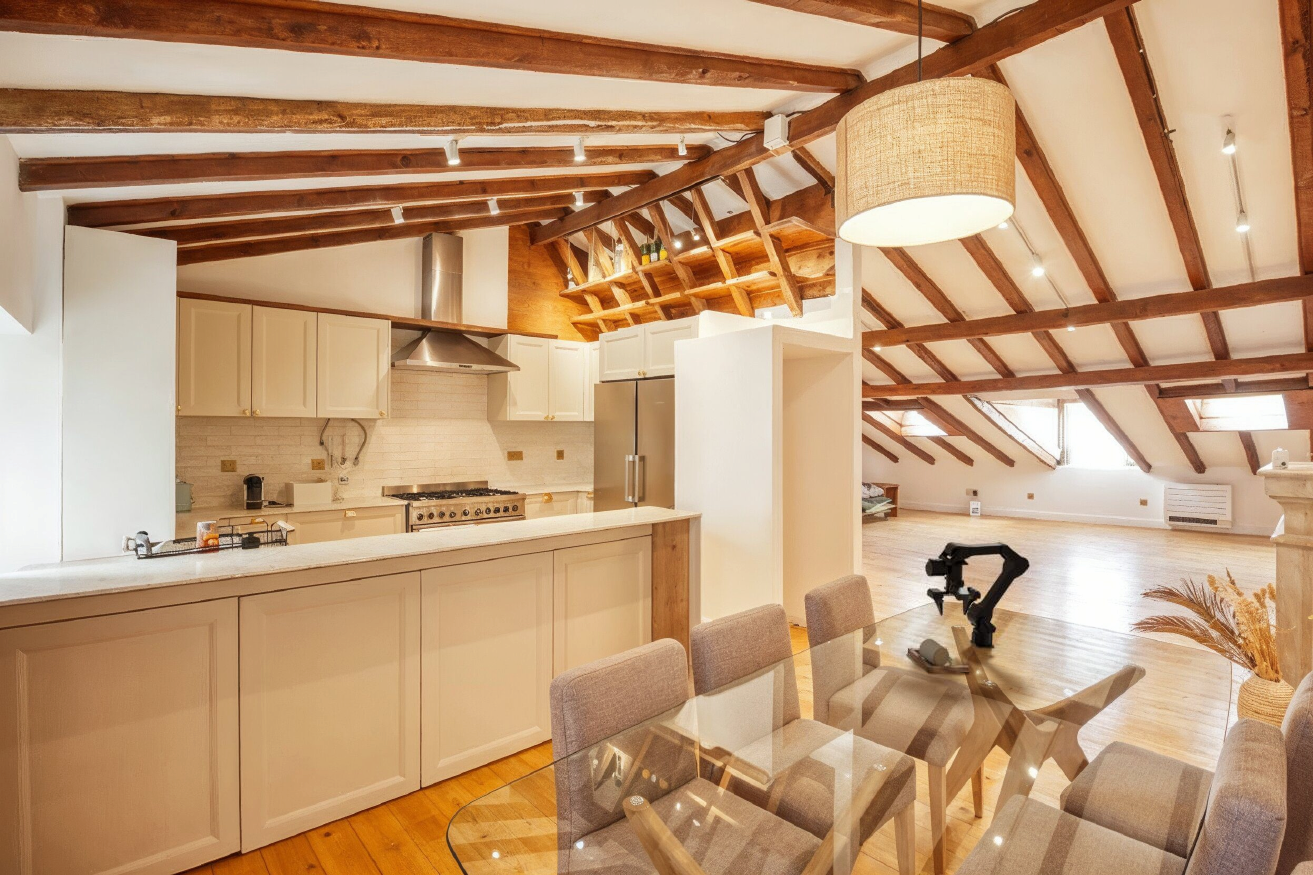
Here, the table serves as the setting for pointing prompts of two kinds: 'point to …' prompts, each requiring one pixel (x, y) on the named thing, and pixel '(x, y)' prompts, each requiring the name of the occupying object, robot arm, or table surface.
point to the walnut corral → (935, 669)
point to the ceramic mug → (934, 652)
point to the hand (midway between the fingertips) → (953, 615)
